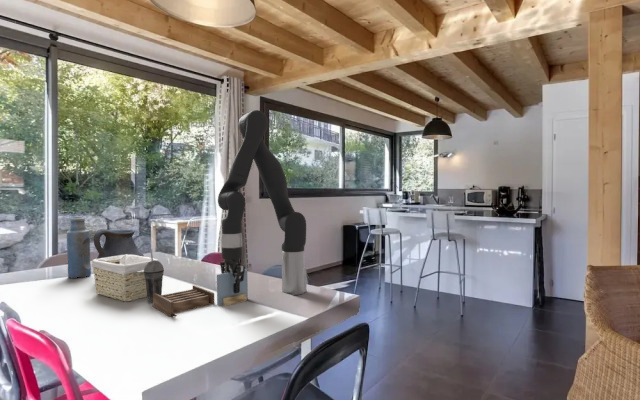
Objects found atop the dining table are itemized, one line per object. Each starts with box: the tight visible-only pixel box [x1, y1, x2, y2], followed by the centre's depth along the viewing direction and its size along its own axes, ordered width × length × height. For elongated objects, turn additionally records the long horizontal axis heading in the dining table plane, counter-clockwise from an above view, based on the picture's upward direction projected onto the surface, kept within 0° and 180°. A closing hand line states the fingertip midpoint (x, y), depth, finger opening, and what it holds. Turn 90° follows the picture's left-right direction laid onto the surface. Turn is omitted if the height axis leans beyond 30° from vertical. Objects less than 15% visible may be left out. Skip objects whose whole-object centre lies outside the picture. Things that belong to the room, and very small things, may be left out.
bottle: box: [66, 216, 92, 279], centre depth 187 cm, size 10×10×30 cm
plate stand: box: [222, 293, 248, 307], centre depth 138 cm, size 9×5×4 cm, turn 134°
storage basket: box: [91, 254, 160, 302], centre depth 153 cm, size 24×16×15 cm
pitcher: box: [93, 228, 145, 264], centre depth 179 cm, size 21×22×25 cm
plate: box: [216, 268, 249, 307], centre depth 138 cm, size 12×1×11 cm, turn 134°
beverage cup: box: [144, 249, 165, 304], centre depth 143 cm, size 7×7×20 cm
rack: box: [152, 284, 215, 318], centre depth 136 cm, size 16×16×5 cm
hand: (232, 291), depth 138 cm, fingers open, 5 cm apart
